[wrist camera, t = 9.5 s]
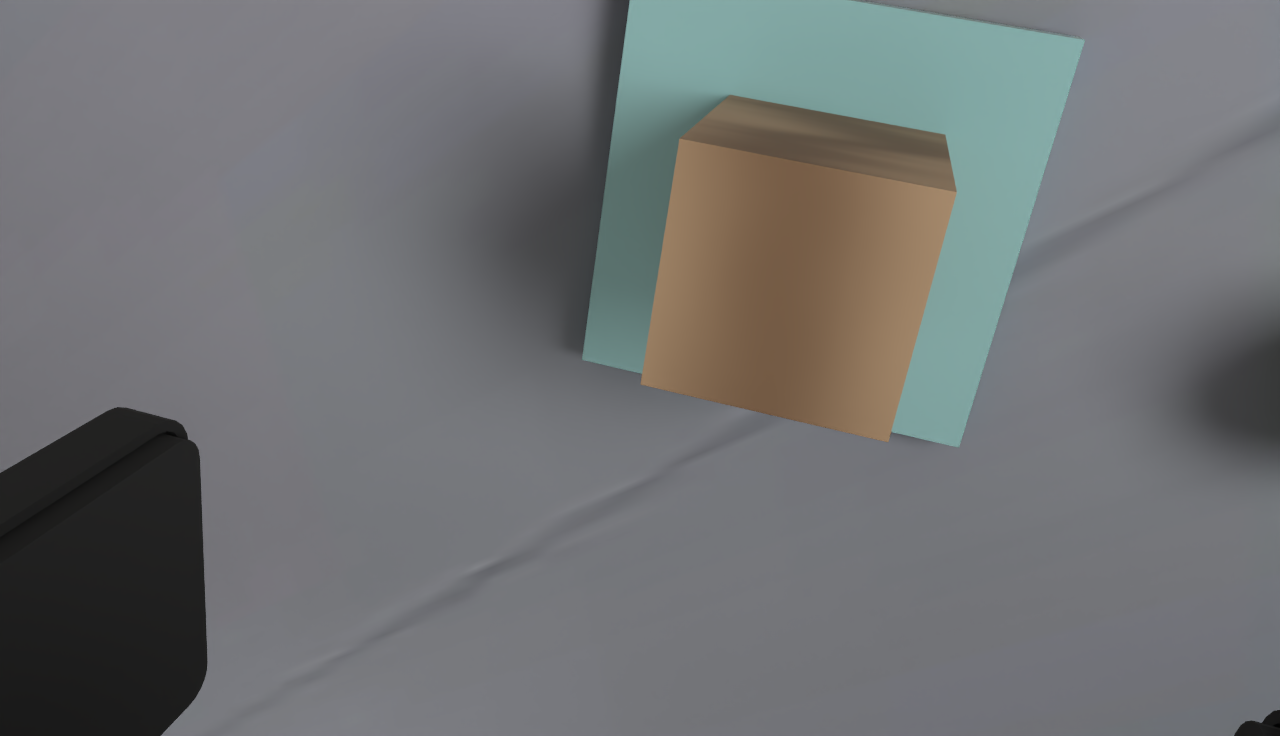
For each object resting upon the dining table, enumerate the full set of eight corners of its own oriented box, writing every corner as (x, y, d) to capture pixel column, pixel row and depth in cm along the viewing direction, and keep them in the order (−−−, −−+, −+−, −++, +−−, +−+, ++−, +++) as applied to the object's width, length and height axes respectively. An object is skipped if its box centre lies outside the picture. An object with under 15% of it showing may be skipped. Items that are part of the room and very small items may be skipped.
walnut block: (945, 134, 23) (956, 192, 18) (892, 336, 25) (888, 442, 20) (730, 94, 24) (679, 139, 19) (695, 293, 26) (640, 384, 21)
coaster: (1079, 37, 23) (1085, 40, 22) (957, 434, 27) (959, 447, 26) (642, -37, 24) (634, -36, 24) (590, 349, 28) (582, 360, 28)
